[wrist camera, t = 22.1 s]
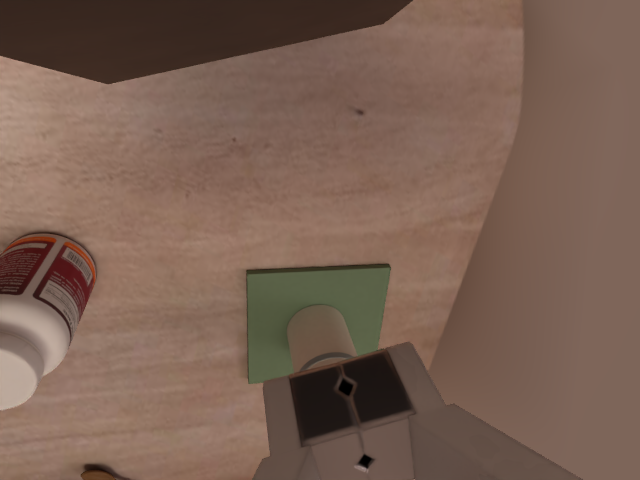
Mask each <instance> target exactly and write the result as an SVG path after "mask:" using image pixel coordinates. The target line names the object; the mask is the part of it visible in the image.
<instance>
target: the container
mask: <svg viewBox="0 0 640 480" xmlns="http://www.w3.org/2000/svg"><path fill="white" fill-rule="evenodd" d="M287 338H288V343H289V348H290V354H291V359H292V365H293V370H294V373H296V372H300V371H304V370H308V369H312V368H316V367H320V366H324V365H329V364H333V363H337V362H338V361H342V360H345V359H349V358H352V357H356V356H358V355H357V353H356V350H355V347H354V345H353V342H352V339H351V336H350V334H349V331H348V328H347V325H346V323H345V320H344V318H343V316H342V314H341V313H340V312H339V311H338V310H337V309H335V308H333V307H331V306H328V305H312V306H309V307H306V308H304V309H302V310H300V311H299V312H297V313H296V314H295V315H294V316H293V317H292V318H291V320H290V321H289V323H288V326H287Z"/></svg>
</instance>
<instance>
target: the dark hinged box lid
mask: <svg viewBox="0 0 640 480" xmlns="http://www.w3.org/2000/svg"><path fill="white" fill-rule="evenodd" d="M412 1H413V0H0V56H3V57H7V58H11V59H14V60H18V61H22V62H26V63H30V64H33V65H37V66H41V67H45V68H48V69H52V70H56V71H60V72H64V73H67V74H71V75H75V76H79V77H82V78H86V79H90V80H94V81H97V82H101V83H105V84H112V83H116V82H121V81H125V80H130V79H134V78H139V77H143V76H148V75H153V74H157V73H162V72H166V71H171V70H175V69H180V68H185V67H189V66H194V65H198V64H203V63H207V62H212V61H217V60H221V59H226V58H230V57H235V56H239V55H244V54H248V53H253V52H258V51H262V50H267V49H271V48H276V47H280V46H285V45H290V44H294V43H299V42H303V41H308V40H312V39H317V38H321V37H326V36H331V35H335V34H340V33H344V32H349V31H353V30H358V29H363V28H367V27H372V26H376V25H381V24H384V23H385V22H386V21H388V20H389V19H390V18H391V17H393V16H394V15H395V14H396V13H398V12H399V11H400V10H401V9H403V8H404V7H405V6H406V5H408V4H409V3H410V2H412Z"/></svg>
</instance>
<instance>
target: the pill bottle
mask: <svg viewBox="0 0 640 480" xmlns="http://www.w3.org/2000/svg"><path fill="white" fill-rule="evenodd" d="M95 279H96V270H95V266H94V263H93V260H92V259H91V257H90V255H89V254H88V253H87V252H86V250H85V249H84V248H82V247H81V246H80V245H79V244H77V243H76V242H74V241H72V240H70V239H67V238H65V237H62V236H59V235H54V234H32V235H28V236H25V237H22V238H20V239H18V240H16V241H14V242H13V243H12V244H10V245H9V246H8V247H7V248H6V249H5V251H4V252H3V253H2V254H1V255H0V410H5V409H9V408H13V407H16V406H18V405H20V404H22V403H24V402H25V401H27V400H28V399H29V398H30V397H31V396H32V395H33V393H34V392H35V390H36V388H37V386H38V384H39V382H40V380H41V378H42V377H43V376H45V375H47V374H48V373H50V372H51V371H53V370H54V369H55V368H56V367H57V366H58V365H59V364H60V363H61V361H62V360H63V359H64V357H65V355H66V353H67V350H68V348H69V346H70V343H71V341H72V339H73V336H74V333H75V331H76V329H77V326H78V324H79V321H80V319H81V316H82V314H83V311H84V309H85V306H86V304H87V301H88V299H89V296H90V294H91V292H92V289H93V287H94V283H95Z"/></svg>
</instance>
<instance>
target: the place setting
mask: <svg viewBox="0 0 640 480" xmlns="http://www.w3.org/2000/svg"><path fill="white" fill-rule="evenodd" d="M81 477H82V479H84V480H116V479H115V478H114V477H113V476H112V475H111V474H110V473H108V472H105V471H100V470H89V471H85V472H83V473H82V474H81Z"/></svg>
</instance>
